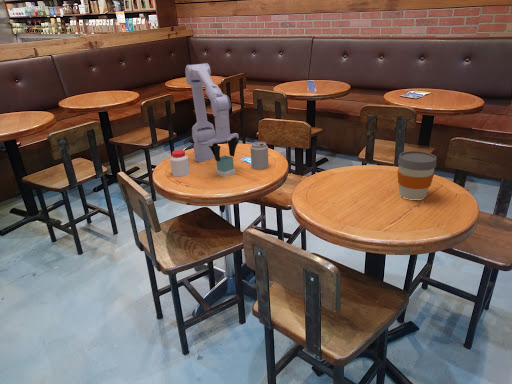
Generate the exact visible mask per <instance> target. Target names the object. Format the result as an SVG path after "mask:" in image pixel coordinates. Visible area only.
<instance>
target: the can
mask: <svg viewBox="0 0 512 384" xmlns="http://www.w3.org/2000/svg"><path fill="white" fill-rule="evenodd" d="M250 161H251V169H252V170H256V171H262V170H263V171H264V170H266V169H268V168H269V146H268V145H267V143H266V142H264V141H255V142H252V143H251V146H250Z"/></svg>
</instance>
